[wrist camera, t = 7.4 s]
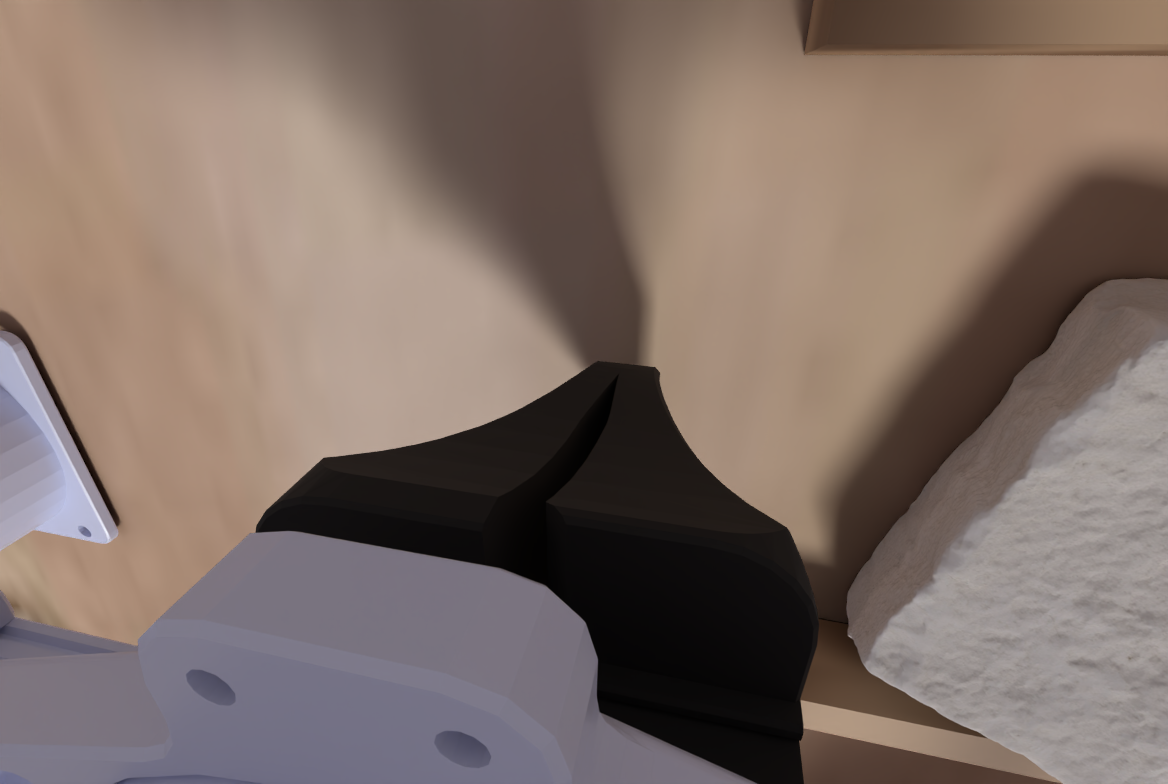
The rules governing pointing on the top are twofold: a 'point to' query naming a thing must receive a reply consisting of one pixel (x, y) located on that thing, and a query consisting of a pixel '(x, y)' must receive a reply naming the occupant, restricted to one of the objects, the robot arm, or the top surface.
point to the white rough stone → (1045, 557)
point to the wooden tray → (949, 27)
